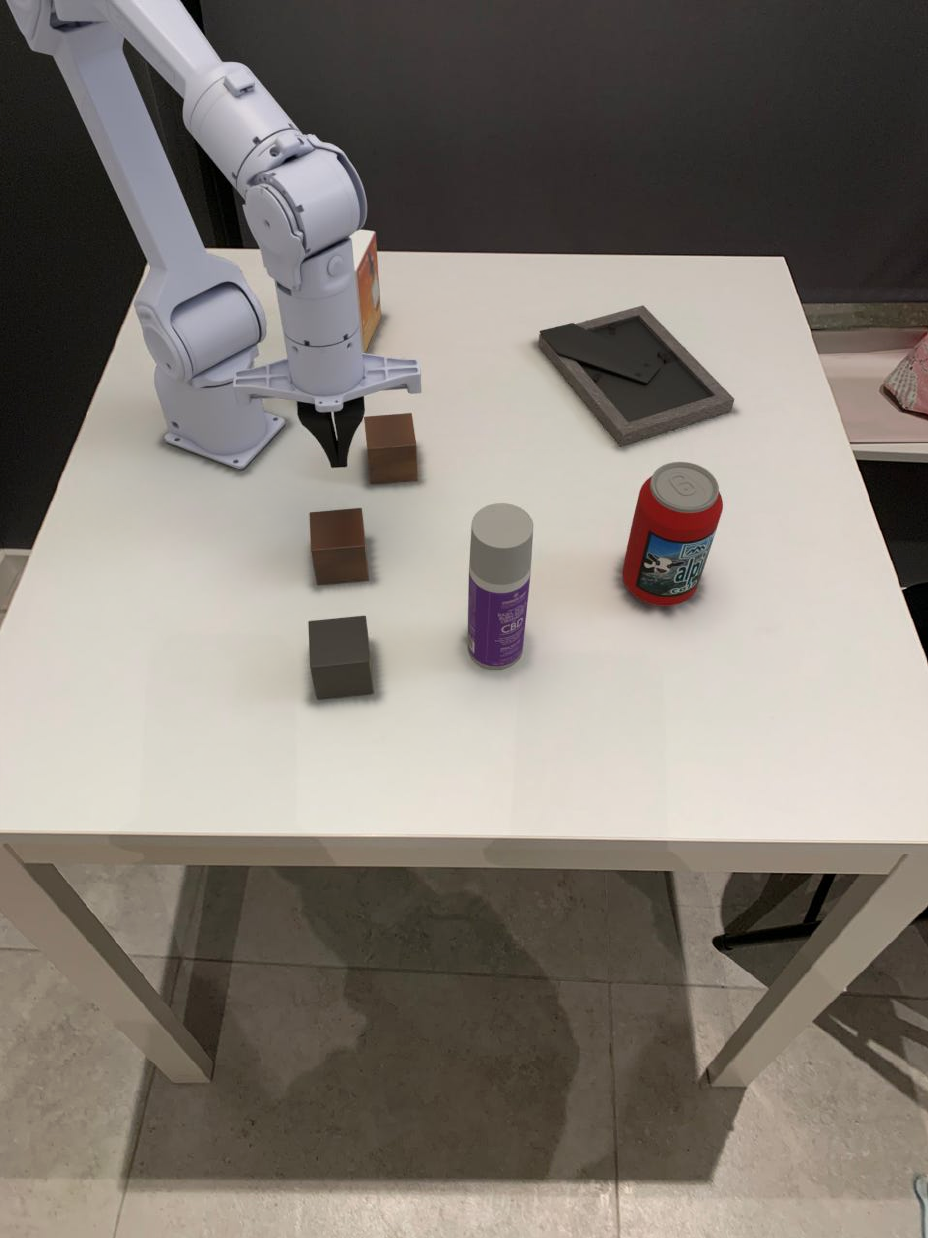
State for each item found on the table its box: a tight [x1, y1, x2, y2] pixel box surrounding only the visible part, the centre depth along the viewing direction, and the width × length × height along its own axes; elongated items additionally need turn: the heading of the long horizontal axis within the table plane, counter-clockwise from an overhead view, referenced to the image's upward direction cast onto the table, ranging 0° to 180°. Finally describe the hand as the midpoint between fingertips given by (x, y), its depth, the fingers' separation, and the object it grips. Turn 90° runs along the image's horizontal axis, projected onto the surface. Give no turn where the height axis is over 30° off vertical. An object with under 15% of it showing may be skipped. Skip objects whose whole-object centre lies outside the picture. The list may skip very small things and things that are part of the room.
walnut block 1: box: [308, 507, 370, 586], centre depth 82 cm, size 5×5×5 cm
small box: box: [349, 229, 382, 353], centre depth 100 cm, size 8×6×10 cm
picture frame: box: [537, 304, 736, 447], centre depth 100 cm, size 13×2×18 cm
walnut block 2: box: [363, 412, 419, 485], centre depth 90 cm, size 5×5×5 cm
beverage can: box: [621, 461, 724, 607], centre depth 78 cm, size 7×7×12 cm
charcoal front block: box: [307, 615, 375, 700], centre depth 75 cm, size 5×5×5 cm
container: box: [467, 502, 534, 671], centre depth 72 cm, size 5×5×15 cm
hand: (338, 459), depth 80 cm, fingers closed
